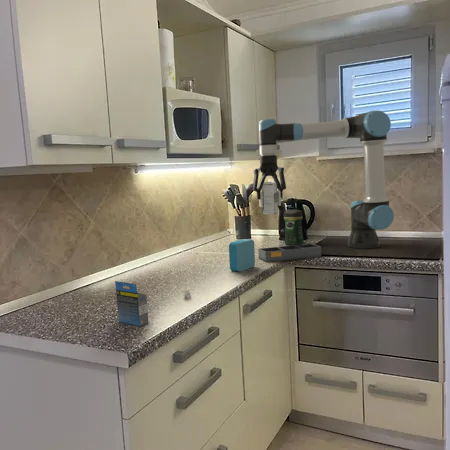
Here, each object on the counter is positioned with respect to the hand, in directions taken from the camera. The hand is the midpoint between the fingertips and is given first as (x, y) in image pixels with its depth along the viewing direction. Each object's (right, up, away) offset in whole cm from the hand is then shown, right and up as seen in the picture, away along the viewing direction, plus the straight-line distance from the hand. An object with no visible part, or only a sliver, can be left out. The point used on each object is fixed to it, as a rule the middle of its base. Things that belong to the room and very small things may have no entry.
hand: (270, 206), depth 207 cm
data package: (-13, -27, -13) cm, 33 cm away
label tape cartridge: (-47, -37, -74) cm, 95 cm away
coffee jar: (+17, -19, +38) cm, 45 cm away
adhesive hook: (-34, -34, -53) cm, 71 cm away
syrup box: (0, -4, +1) cm, 4 cm away
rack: (+10, -23, +5) cm, 26 cm away
